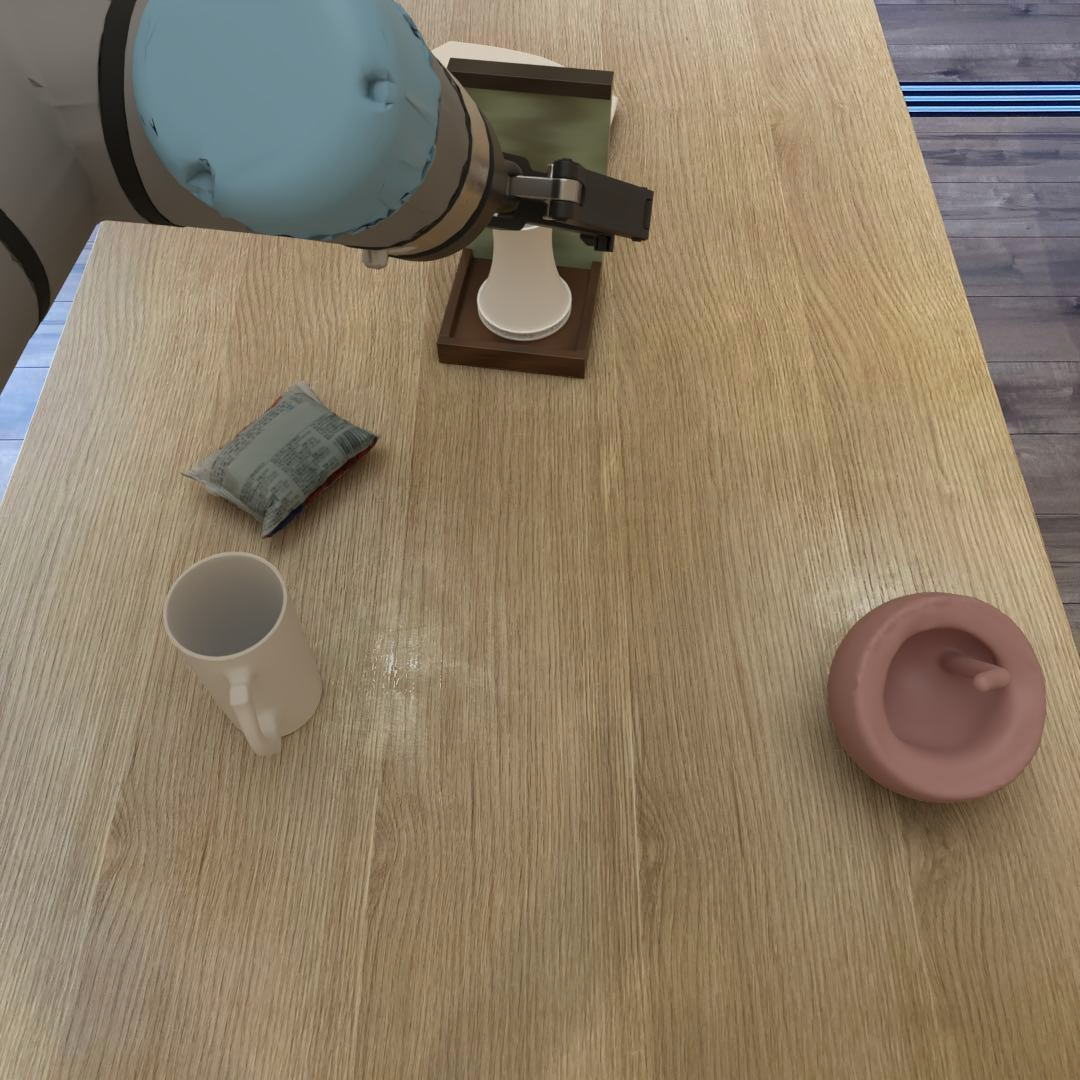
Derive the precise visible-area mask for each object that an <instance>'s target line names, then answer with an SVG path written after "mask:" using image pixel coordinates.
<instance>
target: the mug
mask: <svg viewBox="0 0 1080 1080" xmlns="http://www.w3.org/2000/svg"><path fill="white" fill-rule="evenodd" d="M162 621H163V627H164V630H165V632H166V634H167V637H168V638H169V639H170V641H171V643H172V644H173V645H174V646H175V648H176V649H177V650H178V652H179V654H180V655H181V657H182V659H184V661H185V662H186V663H187V665H188V666H189V668H190V669H191V670H192V671H193V673H194V674H195V675H196V677H197V678H198V680H199V681H200V682H201V683H202V685H203V686H204V687H205V689H206V690H207V691H208V693H209V694H210V695H211V697H212V698H213V700H214V701H215V702H216V704H217V705H218V707H219V708H220V710H221V711H222V712H223V713H224V714H225V715H226V717H227V718H228V719H229V720H230V722H231V723H232V725H234V726H235V728H237V730H239V731H240V732H242V733H243V735H244V737H245V739H246V741H247V744H248V745H249V747H250V748H251V750H252V751H253V752H254V753H255V754H256V755H257V756H259V757H266V756H271V755H276V754H279V753H280V752H281V750H282V739H281V738H282V737H285V736H288V735H290V734H293V733H294V732H296V731H298V730H300V729H301V728H302V727H304V725H305V724H307V723H308V722H309V720H310V719H312V717H313V716H314V714H315V713H316V711H317V709H318V708H319V705H320V702H321V699H322V695H323V694H322V693H323V681H322V677H321V673H320V670H319V667H318V664H317V662H316V658H315V656H314V653H313V651H312V649H311V645H310V643H309V641H308V638H307V635H306V633H305V630H304V627H303V625H302V622H301V619H300V616H299V614H298V611H297V609H296V607H295V604H294V601H293V598H292V596H291V594H290V591H289V589H288V586H287V585H286V582H285V580H284V577H283V576H282V574H281V573H280V571H279V570H278V569H277V567H276V566H274V565H273V564H272V563H271V562H270V561H269V560H267V559H265V558H263V557H262V556H259V555H256V554H254V553H251V552H244V551H223V552H219V553H218V552H217V553H215V554H212V555H209V556H206V557H204V558H202V559H199V560H198V561H196V562H194V563H193V564H191V565H190V566H188V568H187V569H185V570H184V571H183V572H182V573H181V574H180V575H179V576H178V577H177V578H176V580H175V581H174V582H173V584H172V585H171V586H170V588H169V590H168V592H167V594H166V597H165V600H164V603H163V609H162Z"/></svg>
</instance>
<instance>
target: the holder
mask: <svg viewBox="0 0 1080 1080" xmlns="http://www.w3.org/2000/svg"><path fill="white" fill-rule="evenodd" d="M447 69H448V71H449V72H450V73H451V74H452V75H453V76H454V77H455V78H456V79H457V80H458V81H459V83H460V84H461V85H462V86H463V88H464V89H465V90H466V92H467V93H468V94H469V96H470V97H471V98H472V100H473V101H474V102H475V103H476V104H477V106H478V107H479V108H480V109H481V110H482V112H483V113H484V114H485V116H486V117H487V119H488V120H489V122H490V123H491V125H492V127H493V129H494V131H495V133H496V135H497V138H498V140H499V143H500V146H501V150H502V152H505V153H509V154H513V155H518V156H522V157H525V158H527V160H528V161H529V163H530V166H531V168H532V170H534V171H539V172H543V173H547V165H548V164H553V163H554V161H557V160H558V159H562V158H569V159H573V161H574V162H577V163H580V164H581V165H582V166H583V167H584V168H586V169H587V170H590V171H594V172H597V173H600V174H603V175H606V176H609V159H610V141H611V126H612V123H611V109H612V95H613V89H614V79H615V71H613V70H602V69H592V68H591V69H590V68H580V67H579V68H578V67H566V66H564V67H556V66H544V65H532V64H521V63H509V62H497V61H485V60H474V59H462V58H450V60H449V62H448V65H447ZM552 249H553V256H554V261H555V265H556V268H557V271H558V274H559V276H560V277H561V278H562V279H563V280H564V281H565V282H566V283H567V285H568V287H569V289H570V292H571V297H572V301H571V313H570V316H569V318H568V320H567V322H566V323H565V324H564V326H563V327H562V328H561V329H559V330H558V331H557V332H555V333H554V334H552V335H550V336H548V337H545V338H542V339H538V340H533V341H514V340H509V339H506V338H503V337H500V336H498V335H496V334H494V333H493V332H491V331H490V330H489V329H488V328H487V327H486V326H485V325H484V324H483V323H482V321H481V319H480V317H479V314H478V304H477V296H478V292H479V289H480V287H481V285H482V284H483V283H484V281H485V280H486V279H487V278H488V276H489V273H490V270H491V266H492V260H493V250H494V239H493V229H490V228H485V229H484V230H483V232H482V233H481V234H480V235H479V236H478V237H477V238H476V239H475V240H474V241H473V242H472V243H471V244H469V245H468V246H467V247H465V248H464V249H462V250H461V253H460V258H459V261H458V264H457V268H456V272H455V276H454V279H453V282H452V286H451V289H450V293H449V296H448V300H447V303H446V307H445V311H444V315H443V318H442V322H441V325H440V329H439V332H438V336H437V338H436V339H437V340H436V350H437V358H438V362H439V363H444V364H450V365H451V364H452V365H461V366H469V367H478V368H487V369H497V370H504V371H505V370H506V371H513V372H525V373H532V374H533V373H534V374H542V375H550V376H558V377H567V378H577V379H584V378H585V375H586V370H587V364H588V359H589V358H588V357H589V353H590V347H591V341H592V335H593V330H594V325H595V319H596V313H597V312H596V311H597V307H598V301H599V295H600V288H601V283H602V278H603V264H604V252H602V251H594V246H587V245H586V244H585V243H584V242H583V241H582V240H581V239H580V233H575V232H569V231H563V230H558V229H552Z"/></svg>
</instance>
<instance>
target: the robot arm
mask: <svg viewBox="0 0 1080 1080" xmlns="http://www.w3.org/2000/svg"><path fill="white" fill-rule="evenodd" d="M648 188H649V187H645V186H639V185H636V184H633V183H631V182H627V181H623V180H621V179H618V178H615V177H611V176H609V175H608V176H606V175H603V174H600V173H597V172H594V171H590V170H587V169H586V168H584V167H583V166H582V165H581V164H580V163H577V162H574V161H573V159H569V158H562V159H558V160H557V161H554V163H553V164H548V165H547V173H543V172H539V171H534V170H532V168H531V166H530V163H529V161H528V160H527V158H525V157H522V156H518V155H513V154H509V153H505V152H502V150H501V146H500V143H499V140H498V138H497V135H496V133H495V131H494V129H493V127H492V125H491V123H490V122H489V120H488V119H487V117H486V116H485V114H484V113H483V112H482V110H481V109H480V108H479V107H478V106H477V104H476V103H475V102H474V101H473V100H472V98H471V97H470V96H469V94H468V93H467V92H466V90H465V89H464V88H463V86H462V85H461V84H460V83H459V81H458V80H457V79H456V78H455V77H454V76H453V75H452V74H451V73H450V72H449V71H448V69H447V68H446V67H445V66H444V65H443V64H442V63H441V62H440V61H439V60H438V59H437V58H436V57H435V56H434V54H433V53H432V52H431V49H430V48H429V47H428V45H427V44H426V42H425V39H424V36H423V34H422V32H420V30H419V29H418V27H417V25H416V23H415V22H414V20H413V19H412V17H411V16H410V14H408V12H407V10H406V9H405V8H404V7H403V5H401V4H400V3H399V2H396V1H394V0H0V396H1V395H2V393H3V391H4V390H5V387H6V385H7V383H8V382H9V380H10V378H11V376H12V374H13V372H14V370H15V368H16V366H17V364H18V362H19V361H20V359H21V357H22V355H23V353H24V351H25V349H26V348H27V345H28V344H29V341H30V340H31V339H32V337H33V336H34V334H35V333H36V332H37V330H38V329H39V327H40V325H41V323H43V321H44V320H45V318H46V317H47V316H48V314H49V312H50V310H51V309H52V307H53V304H54V302H55V301H56V299H57V297H58V295H59V293H60V292H61V290H62V288H63V286H64V285H65V283H66V281H67V279H68V278H69V276H70V274H71V272H72V270H73V268H74V267H75V265H76V263H77V261H78V260H79V258H80V256H81V255H82V252H83V250H84V249H85V247H86V245H87V243H88V242H89V240H90V238H91V236H92V234H93V232H95V229H96V227H97V226H98V225H99V224H100V223H102V222H105V221H110V222H118V223H119V222H120V223H132V224H141V225H142V224H143V225H153V226H165V227H172V228H173V227H174V228H182V229H184V228H194V229H195V228H196V229H203V230H204V229H205V230H215V231H224V232H232V233H233V232H234V233H243V234H251V235H252V234H254V235H260V236H263V235H264V236H271V237H279V238H280V237H282V238H291V239H297V240H305V241H313V242H320V243H325V244H328V243H329V244H334V245H341V246H344V247H346V248H351V249H357V250H362V251H361V262H362V264H363V265H364V266H365V267H366V268H367V269H373V270H377V271H378V270H382V269H385V268H386V267H387V266H388V263H389V258H393V259H397V260H402V261H407V262H415V263H416V262H418V263H419V262H421V263H422V262H423V263H424V262H433V261H437V260H442V259H445V258H448V257H451V256H453V255H455V254H457V253H459V252H460V251H462V250H463V249H464V248H465V247H467V246H468V245H469V244H471V243H472V242H473V241H474V240H475V239H476V238H477V237H478V236H479V235H480V234H481V233H482V232H483V230H484V229H485V228H490V229H496V230H506V231H520V230H521V229H523V227H524V226H525V224H529V225H535V226H540V227H546V228H552V229H558V230H563V231H569V232H575V233H580V239H581V240H582V241H583V242H584V243H585V244H586V245H587V246H594V251H602V252H603V253H614V248H615V239H616V236H618V237H621V238H625V239H630V240H631V242H636V243H637V242H638V243H641V242H646V241H649V237H650V230H651V221H652V213H653V204H654V197H655V195H654V193H655V191H654V190H652V189H648ZM495 213H498V215H497V216H494V214H495Z"/></svg>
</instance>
